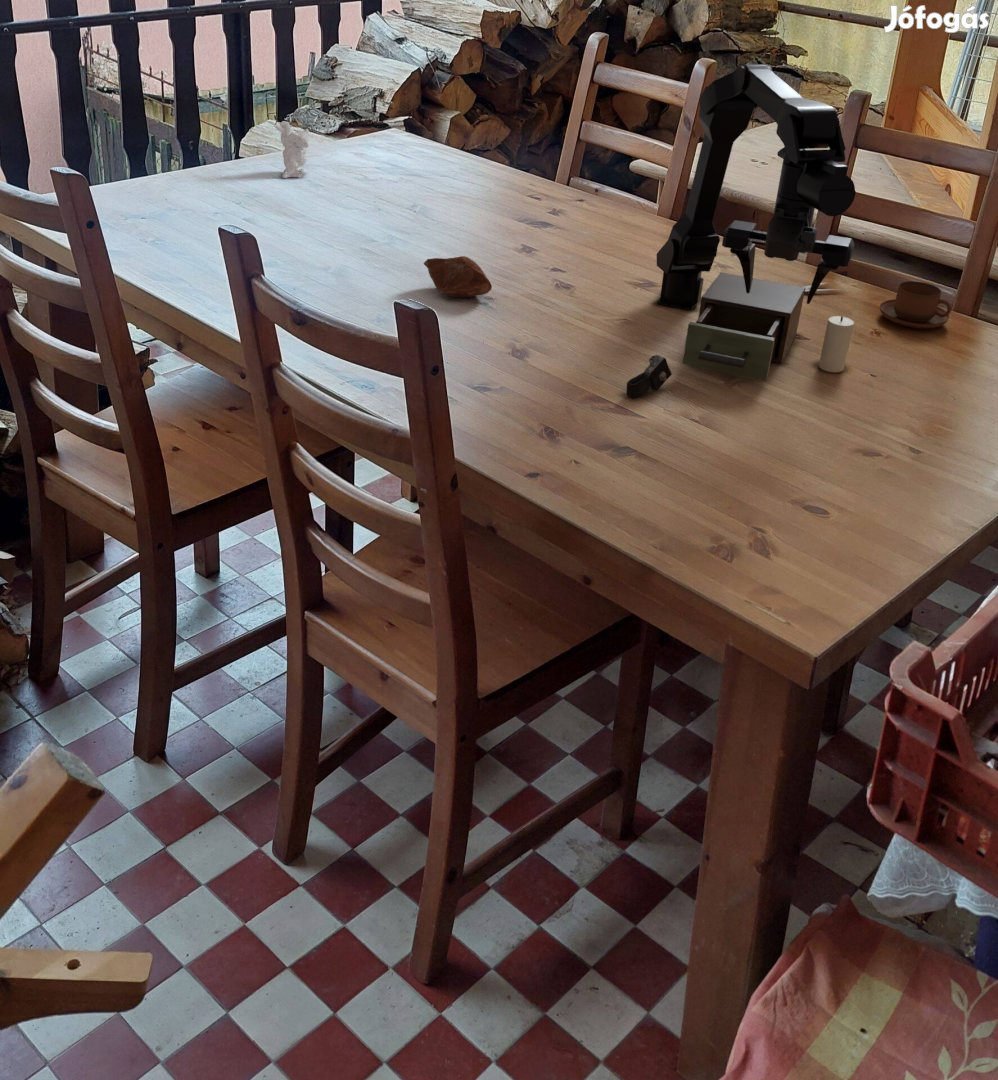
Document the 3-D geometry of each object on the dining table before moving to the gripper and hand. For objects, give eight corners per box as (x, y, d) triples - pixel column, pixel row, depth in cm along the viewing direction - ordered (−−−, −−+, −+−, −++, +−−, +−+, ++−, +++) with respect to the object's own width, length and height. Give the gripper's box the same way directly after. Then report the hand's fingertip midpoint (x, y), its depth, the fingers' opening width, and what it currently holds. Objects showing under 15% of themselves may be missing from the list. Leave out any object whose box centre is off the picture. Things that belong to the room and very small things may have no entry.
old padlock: (641, 412, 179) (631, 390, 175) (631, 407, 181) (622, 385, 177) (675, 375, 181) (666, 353, 177) (665, 371, 182) (656, 348, 178)
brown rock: (505, 285, 206) (474, 236, 202) (470, 314, 204) (438, 265, 200) (474, 288, 217) (445, 242, 213) (441, 315, 215) (410, 268, 211)
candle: (816, 369, 191) (827, 317, 186) (820, 360, 194) (831, 309, 189) (841, 374, 190) (853, 322, 185) (845, 365, 193) (856, 314, 188)
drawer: (759, 392, 180) (767, 351, 176) (674, 375, 184) (680, 334, 180) (781, 353, 193) (788, 314, 190) (701, 337, 197) (707, 298, 194)
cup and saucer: (947, 315, 215) (955, 283, 211) (945, 338, 205) (955, 305, 202) (879, 304, 218) (887, 272, 214) (875, 327, 208) (883, 293, 205)
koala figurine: (282, 181, 266) (280, 126, 259) (270, 173, 270) (267, 119, 264) (316, 177, 270) (315, 123, 263) (304, 169, 274) (302, 116, 268)
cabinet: (781, 363, 192) (791, 313, 187) (694, 346, 196) (701, 296, 192) (796, 335, 203) (805, 287, 198) (713, 319, 207) (720, 272, 203)
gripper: (722, 199, 168) (706, 303, 177) (855, 220, 163) (832, 326, 171) (738, 181, 177) (722, 281, 185) (864, 200, 172) (842, 302, 180)
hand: (778, 297), depth 180 cm, fingers open, 9 cm apart
